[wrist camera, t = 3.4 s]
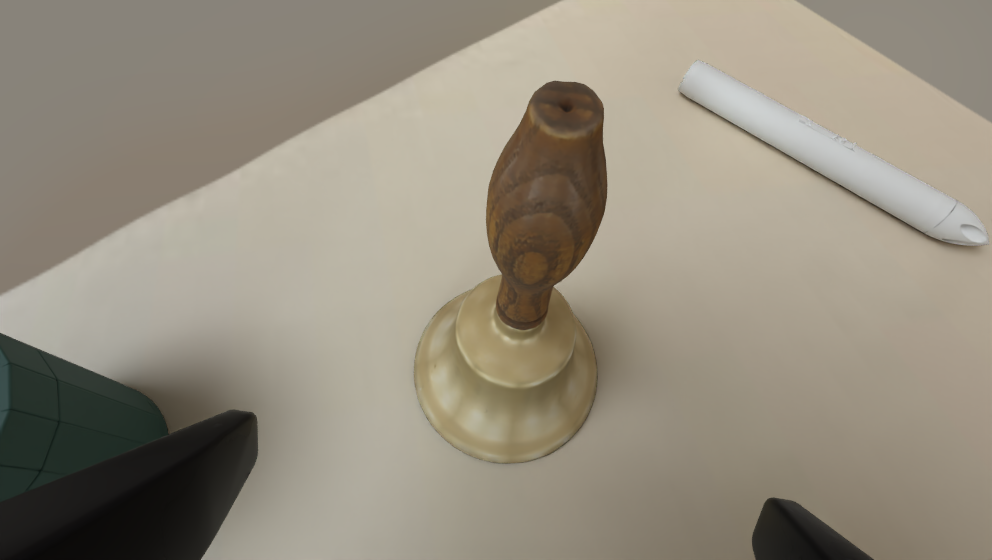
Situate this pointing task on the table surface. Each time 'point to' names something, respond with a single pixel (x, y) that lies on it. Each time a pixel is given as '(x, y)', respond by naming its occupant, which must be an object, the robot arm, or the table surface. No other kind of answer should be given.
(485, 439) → the hand bell
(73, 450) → the jar
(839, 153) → the white cylindrical rod
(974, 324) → the table surface
